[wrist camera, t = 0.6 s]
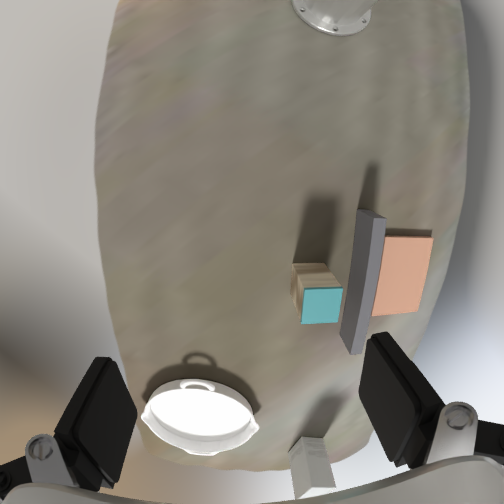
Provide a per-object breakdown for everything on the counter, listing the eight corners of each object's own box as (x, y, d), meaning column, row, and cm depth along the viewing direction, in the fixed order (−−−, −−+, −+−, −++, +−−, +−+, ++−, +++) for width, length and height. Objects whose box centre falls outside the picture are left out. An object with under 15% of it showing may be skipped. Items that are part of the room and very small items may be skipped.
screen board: (357, 209, 42) (373, 218, 36) (368, 209, 42) (386, 218, 36) (339, 334, 49) (350, 354, 43) (350, 333, 49) (361, 353, 43)
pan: (152, 438, 58) (149, 450, 54) (134, 358, 49) (128, 371, 46) (252, 446, 60) (253, 459, 56) (265, 369, 51) (267, 383, 47)
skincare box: (308, 454, 62) (318, 502, 47) (285, 452, 61) (293, 502, 46) (324, 437, 59) (338, 487, 45) (300, 435, 58) (311, 488, 44)
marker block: (292, 263, 44) (304, 289, 36) (324, 263, 44) (342, 288, 36) (290, 293, 46) (301, 324, 37) (321, 292, 46) (337, 322, 37)
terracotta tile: (382, 235, 43) (385, 237, 42) (430, 236, 44) (433, 238, 43) (369, 313, 48) (371, 316, 47) (414, 308, 48) (417, 311, 47)
